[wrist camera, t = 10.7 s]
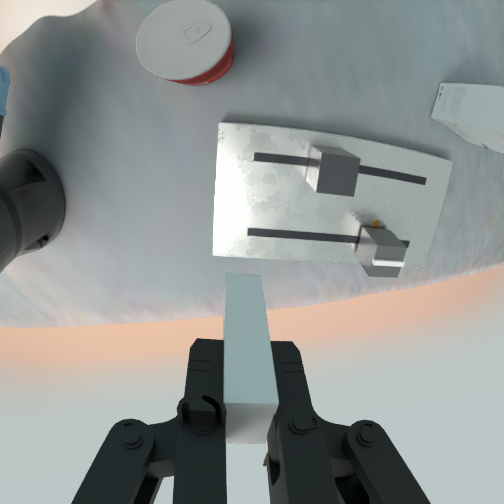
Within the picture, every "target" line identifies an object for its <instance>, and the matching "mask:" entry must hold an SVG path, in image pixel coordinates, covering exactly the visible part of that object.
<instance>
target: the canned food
mask: <svg viewBox="0 0 504 504" xmlns="http://www.w3.org/2000/svg"><path fill="white" fill-rule="evenodd" d="M135 47H136V54H137V57H138V59H139V61H140V62H141V64H142V66H143V67H145V68H146V69H147V70H148V71H149V72H150V73H152V74H154V75H155V76H157V77H160V78H163V79H166V80H169V81H173V82H177V83H181V84H185V85H191V86H199V85H205V84H208V83H211V82H213V81H215V80H217V79H219V78H220V77H221V76H222V75H224V74H225V73H226V71H227V70H228V69H229V67H230V66H231V64H232V62H233V59H234V52H235V50H234V42H233V35H232V28H231V24H230V22H229V19H228V17H227V16H226V14H225V13H224V11H223V10H222V9H221V8H220V7H218V6H217V5H216V4H214V3H212V2H211V1H209V0H171V1H169V2H166V3H164V4H162V5H161V6H159V7H157V8H156V9H155V10H153V11H152V12H151V13H150V14H149V15H148V16H147V17H146V18H145V20H144V21H143V22H142V24H141V26H140V28H139V30H138V33H137V36H136V42H135Z"/></svg>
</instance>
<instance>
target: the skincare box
mask: <svg viewBox="0 0 504 504" xmlns="http://www.w3.org/2000/svg"><path fill="white" fill-rule="evenodd" d="M430 117H431V119H433V120H435V121H437V122H439V123H440V124H442V125H444V126H446V127H447V128H449V129H450V130H452V131H453V132H455V133H456V134H457V135H459V136H460V137H461V138H463V139H464V140H465V141H466V142H469V143H472V144H475V145H478V146H482V147H485V148H488V149H491V150H494V151H497V152H500V153H503V154H504V87H503V86H494V85H482V84H467V83H441V84H440V87H439V90H438V94H437V97H436V100H435V103H434V106H433V110H432V113H431V116H430Z"/></svg>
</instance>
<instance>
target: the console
mask: <svg viewBox="0 0 504 504" xmlns="http://www.w3.org/2000/svg"><path fill="white" fill-rule="evenodd" d="M452 165H453V162H452V161H450V160H447V159H445V158H442V157H439V156H435V155H432V154H428V153H424V152H420V151H416V150H413V149H408V148H404V147H400V146H396V145H391V144H387V143H382V142H378V141H373V140H368V139H363V138H357V137H352V136H346V135H341V134H334V133H328V132H322V131H315V130H307V129H300V128H292V127H283V126H273V125H263V124H251V123H237V122H220V123H219V133H218V149H217V166H216V186H215V208H214V235H213V256H229V257H245V258H262V259H278V260H295V261H312V262H330V263H348V264H361V263H360V262H359V260H358V259H357V257H356V252H357V248H358V244H359V240H360V236H361V232H362V228H363V227H368V228H378V229H387V230H391V231H392V232H393V233H394V234H395V235H396V236H397V238H398V239H399V240H400V241H401V242H402V243H403V244H404V245H405V246H406V247H407V250H406V253H405V256H404V259H403V261H404V262H405V263H404V266H403V267H422V268H423V267H424V264H425V261H426V258H427V255H428V252H429V249H430V246H431V243H432V240H433V237H434V234H435V231H436V227H437V224H438V221H439V217H440V214H441V210H442V207H443V203H444V199H445V195H446V191H447V187H448V183H449V179H450V174H451V170H452Z"/></svg>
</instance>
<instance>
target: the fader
mask: <svg viewBox="0 0 504 504" xmlns="http://www.w3.org/2000/svg"><path fill="white" fill-rule="evenodd" d="M406 250H407V247H406V246H405V245H404V244H403V243H402V242H401V241H400V240H399V239H398V238H397V236H396V235H395V234H394V233H393V232H392V231H391V230H387V229H378V228H368V227H363V228H362V232H361V236H360V240H359V244H358V248H357V252H356V257H357V259H358V260H359V262H360V263H361V265H362V266H363V268H364V270H365V271H366V273H367V274H368V276H373V277H398V274H399V271H400V268H401V267H403V266H404V263H405V262H404V261H403V259H404V256H405V253H406Z"/></svg>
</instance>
